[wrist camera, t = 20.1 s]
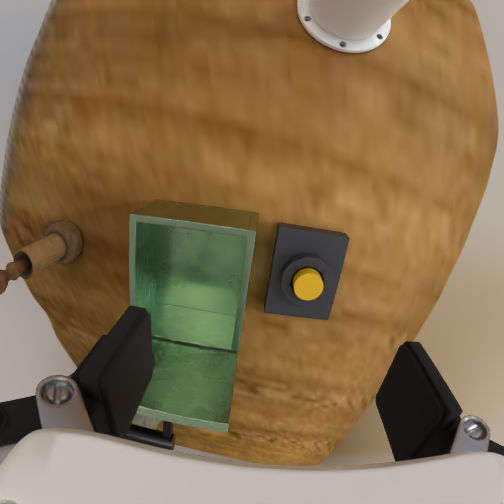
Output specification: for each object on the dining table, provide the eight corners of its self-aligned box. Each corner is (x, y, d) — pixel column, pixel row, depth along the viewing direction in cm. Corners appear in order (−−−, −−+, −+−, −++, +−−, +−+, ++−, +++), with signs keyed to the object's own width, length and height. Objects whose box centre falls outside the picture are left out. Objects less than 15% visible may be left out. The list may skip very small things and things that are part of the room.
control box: (278, 222, 40) (279, 230, 36) (345, 233, 40) (353, 242, 36) (264, 304, 44) (263, 319, 40) (325, 312, 44) (330, 327, 40)
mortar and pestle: (71, 212, 41) (-13, 250, 24) (89, 250, 42) (14, 303, 25) (45, 230, 42) (-33, 271, 25) (63, 265, 44) (-8, 318, 27)
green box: (156, 199, 40) (129, 213, 31) (258, 213, 40) (256, 231, 31) (152, 303, 45) (131, 335, 36) (242, 318, 45) (237, 355, 36)
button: (295, 265, 38) (297, 271, 36) (324, 270, 38) (326, 275, 36) (290, 292, 39) (291, 298, 37) (317, 295, 39) (319, 302, 37)
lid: (61, 380, 20) (66, 433, 20) (228, 424, 20) (220, 475, 20) (130, 334, 36) (128, 372, 36) (237, 354, 36) (231, 393, 36)
